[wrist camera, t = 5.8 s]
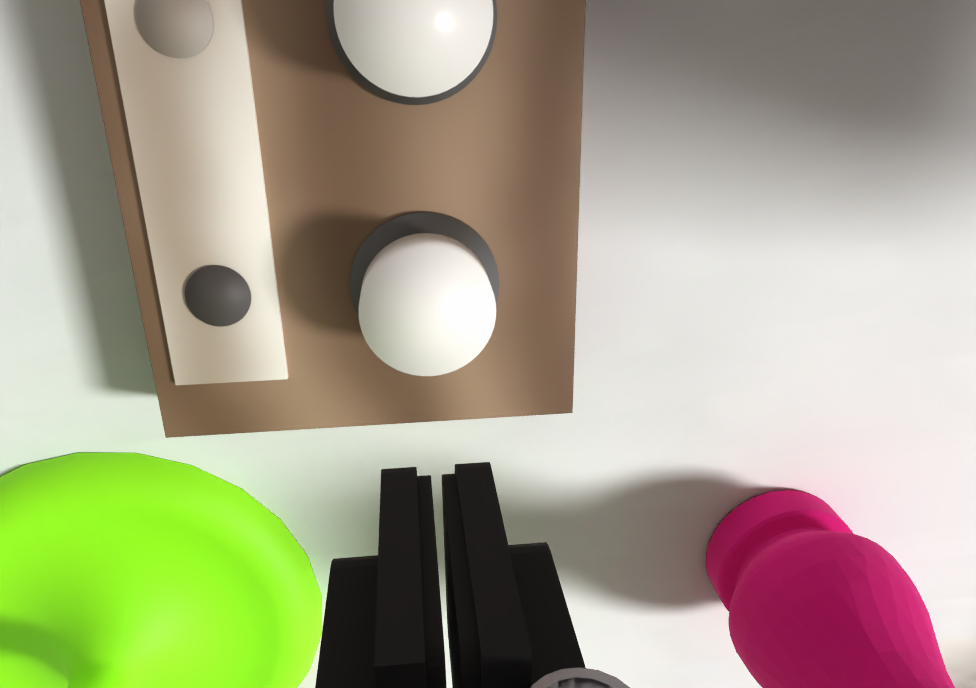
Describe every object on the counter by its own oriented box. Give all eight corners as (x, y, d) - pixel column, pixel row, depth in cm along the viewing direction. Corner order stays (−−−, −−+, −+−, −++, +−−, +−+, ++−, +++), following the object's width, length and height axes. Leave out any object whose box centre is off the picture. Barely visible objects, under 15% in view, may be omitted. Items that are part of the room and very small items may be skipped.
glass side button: (489, 230, 23) (495, 243, 21) (491, 352, 24) (496, 372, 23) (356, 235, 23) (353, 249, 21) (365, 358, 24) (363, 379, 23)
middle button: (485, -69, 20) (492, -77, 18) (488, 91, 21) (494, 95, 20) (332, -68, 20) (326, -77, 18) (344, 94, 21) (340, 98, 20)
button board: (576, -519, 20) (607, -620, 17) (556, 377, 30) (574, 416, 27) (18, -549, 19) (-56, -664, 16) (188, 398, 28) (163, 441, 25)
